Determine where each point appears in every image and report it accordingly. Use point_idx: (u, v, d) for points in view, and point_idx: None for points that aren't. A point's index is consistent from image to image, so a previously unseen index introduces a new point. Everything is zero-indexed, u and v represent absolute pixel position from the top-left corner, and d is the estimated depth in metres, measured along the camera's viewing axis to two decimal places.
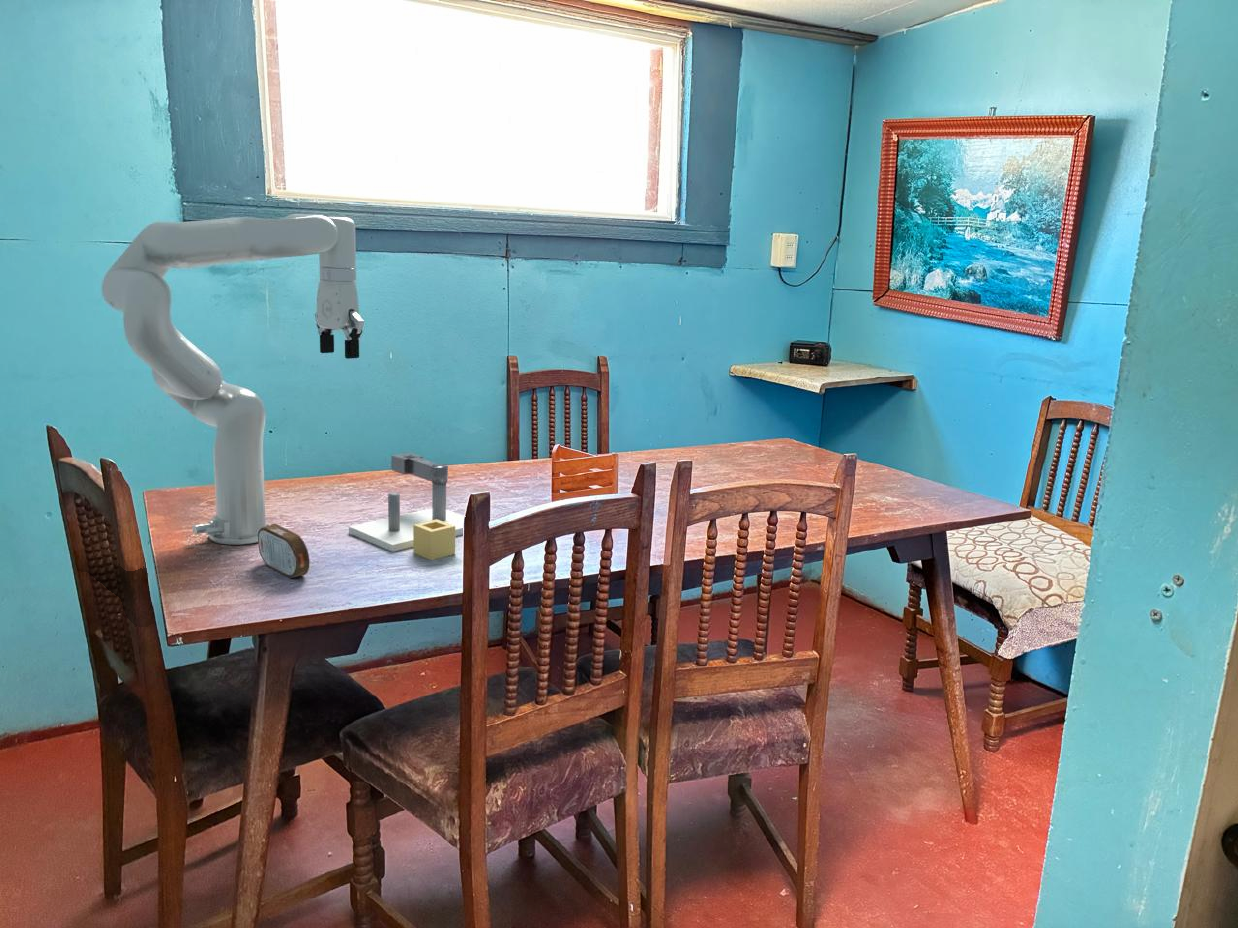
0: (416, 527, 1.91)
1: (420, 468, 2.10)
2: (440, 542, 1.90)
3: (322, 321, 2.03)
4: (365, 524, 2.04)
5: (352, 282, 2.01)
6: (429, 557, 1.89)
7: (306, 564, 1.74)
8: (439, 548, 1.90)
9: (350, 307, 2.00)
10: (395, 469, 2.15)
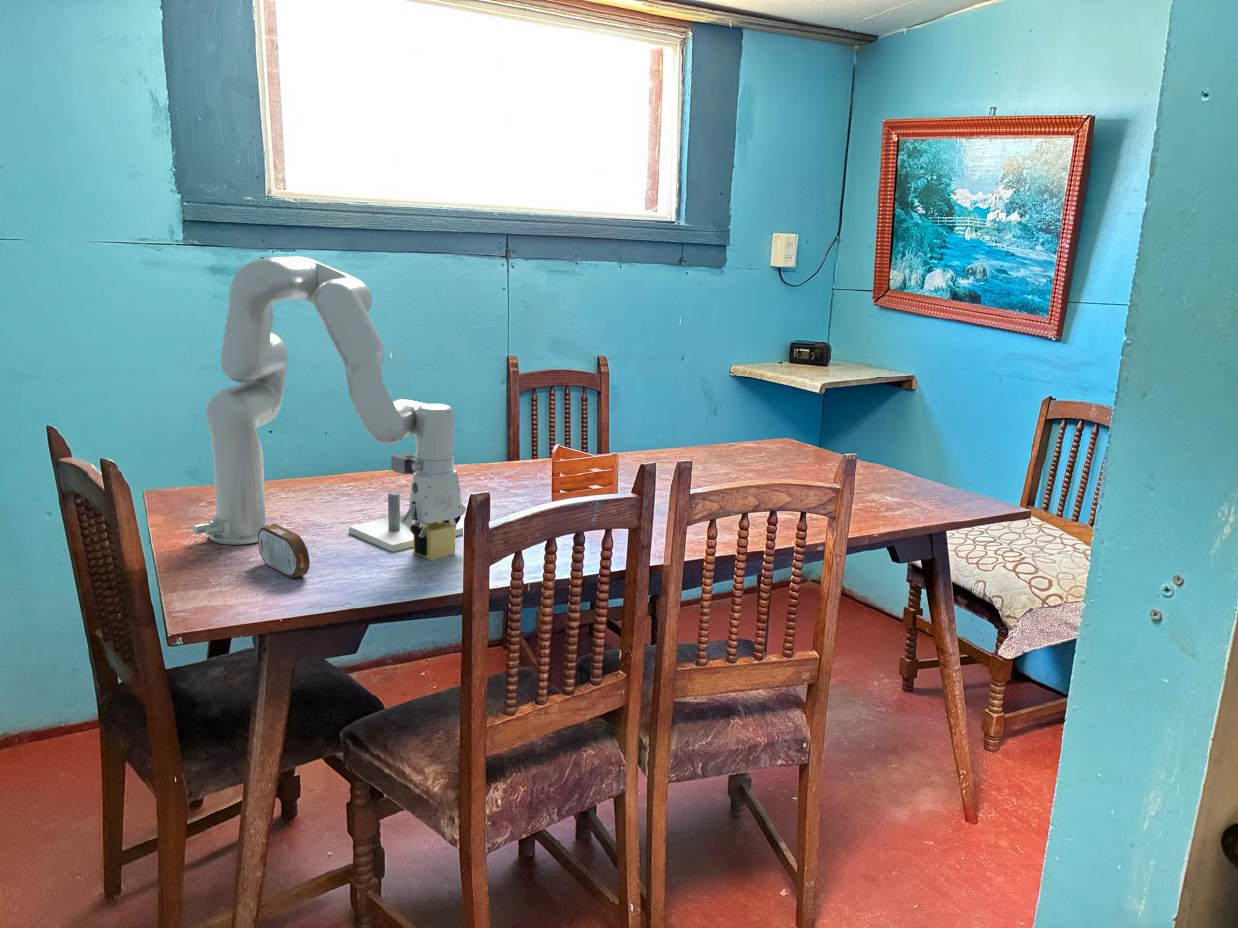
0: None
1: None
2: (440, 542, 1.90)
3: (435, 517, 1.88)
4: (365, 524, 2.04)
5: None
6: (429, 557, 1.89)
7: (306, 564, 1.74)
8: (439, 548, 1.90)
9: None
10: (395, 469, 2.15)
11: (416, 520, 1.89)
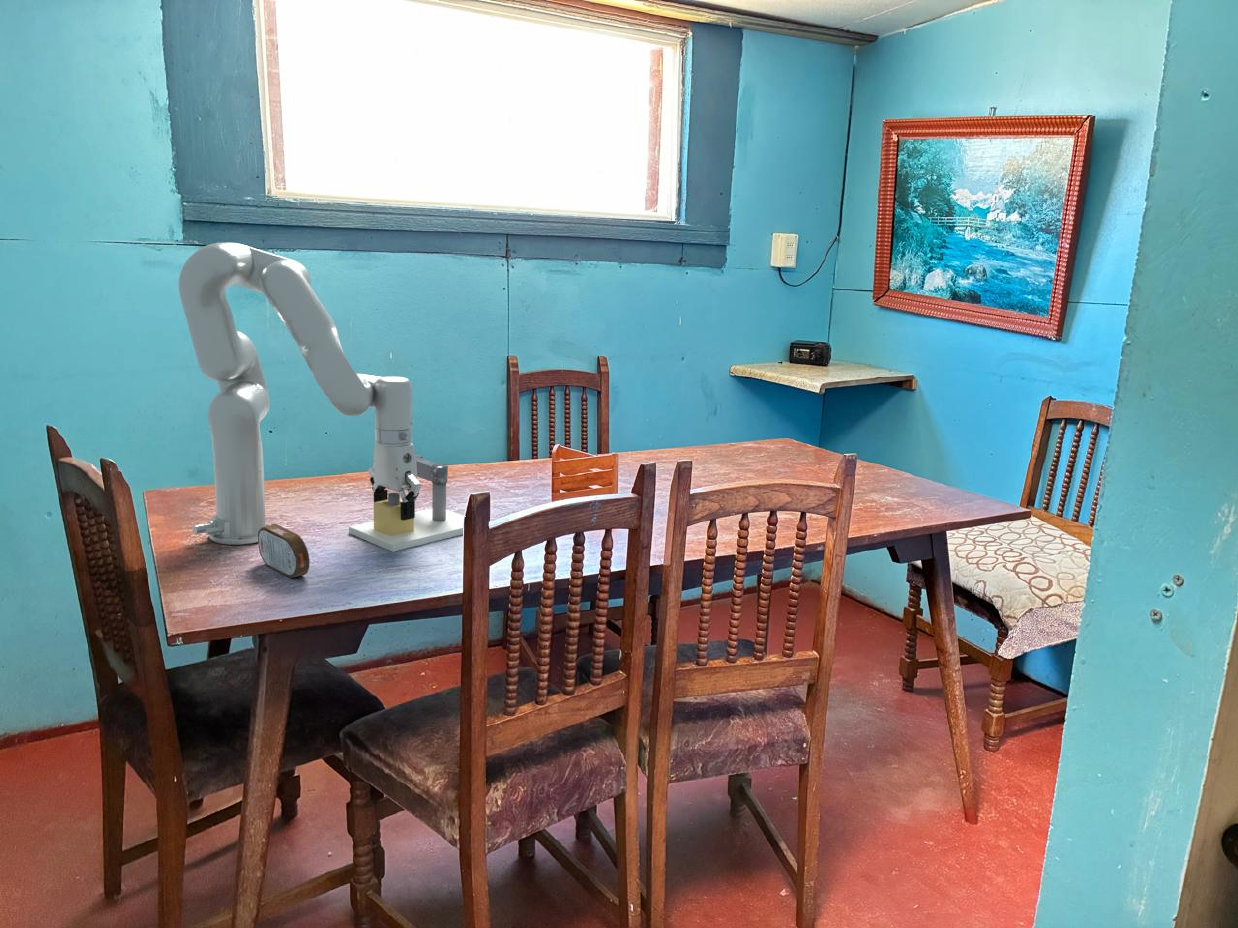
0: (394, 509, 1.97)
1: (420, 468, 2.10)
2: None
3: None
4: (365, 524, 2.04)
5: None
6: (411, 529, 2.01)
7: (306, 564, 1.74)
8: None
9: None
10: None
11: (402, 488, 1.96)
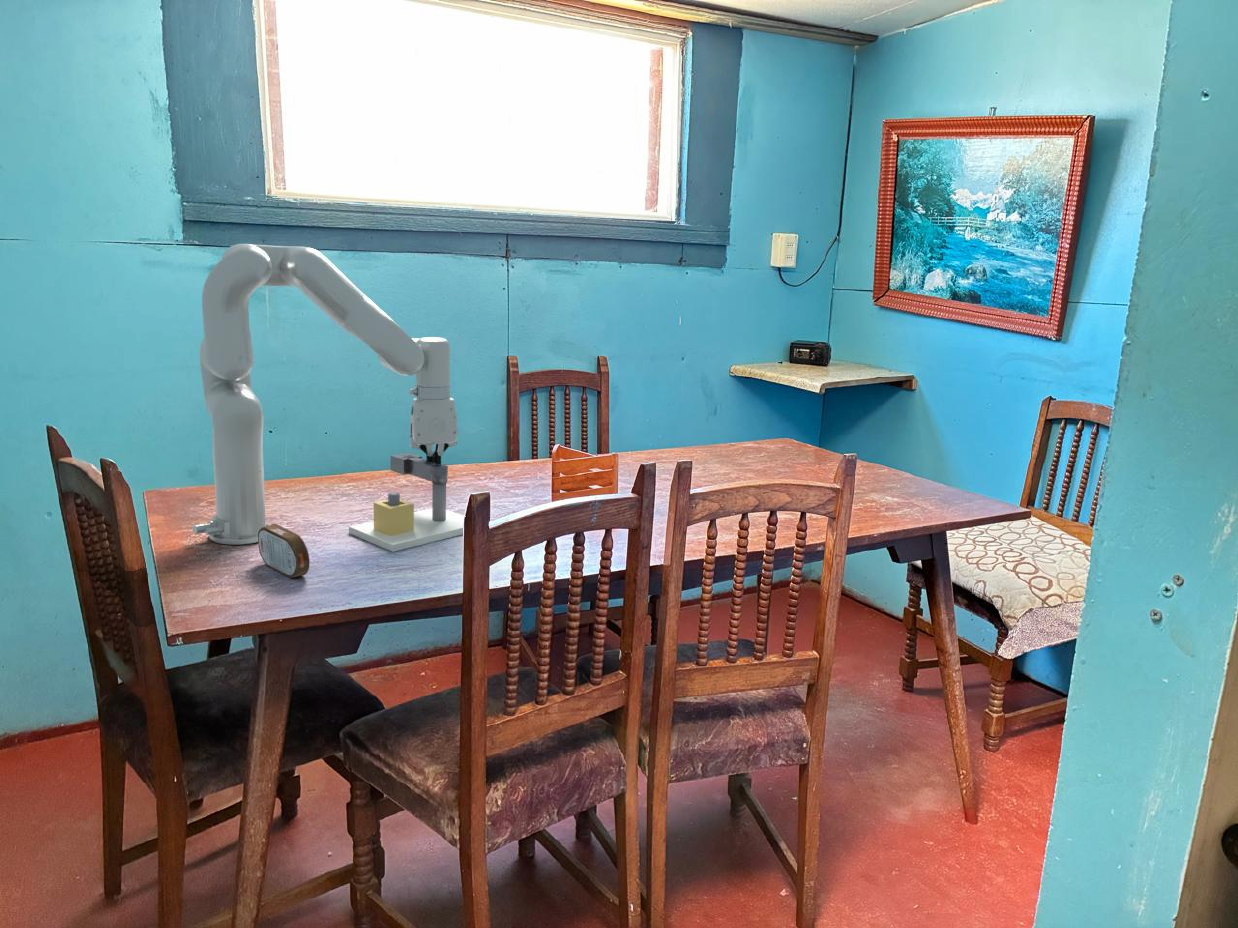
0: (394, 509, 1.97)
1: (420, 468, 2.10)
2: None
3: (428, 438, 2.10)
4: (365, 524, 2.04)
5: None
6: (411, 529, 2.01)
7: (306, 564, 1.74)
8: None
9: None
10: (394, 469, 2.14)
11: None
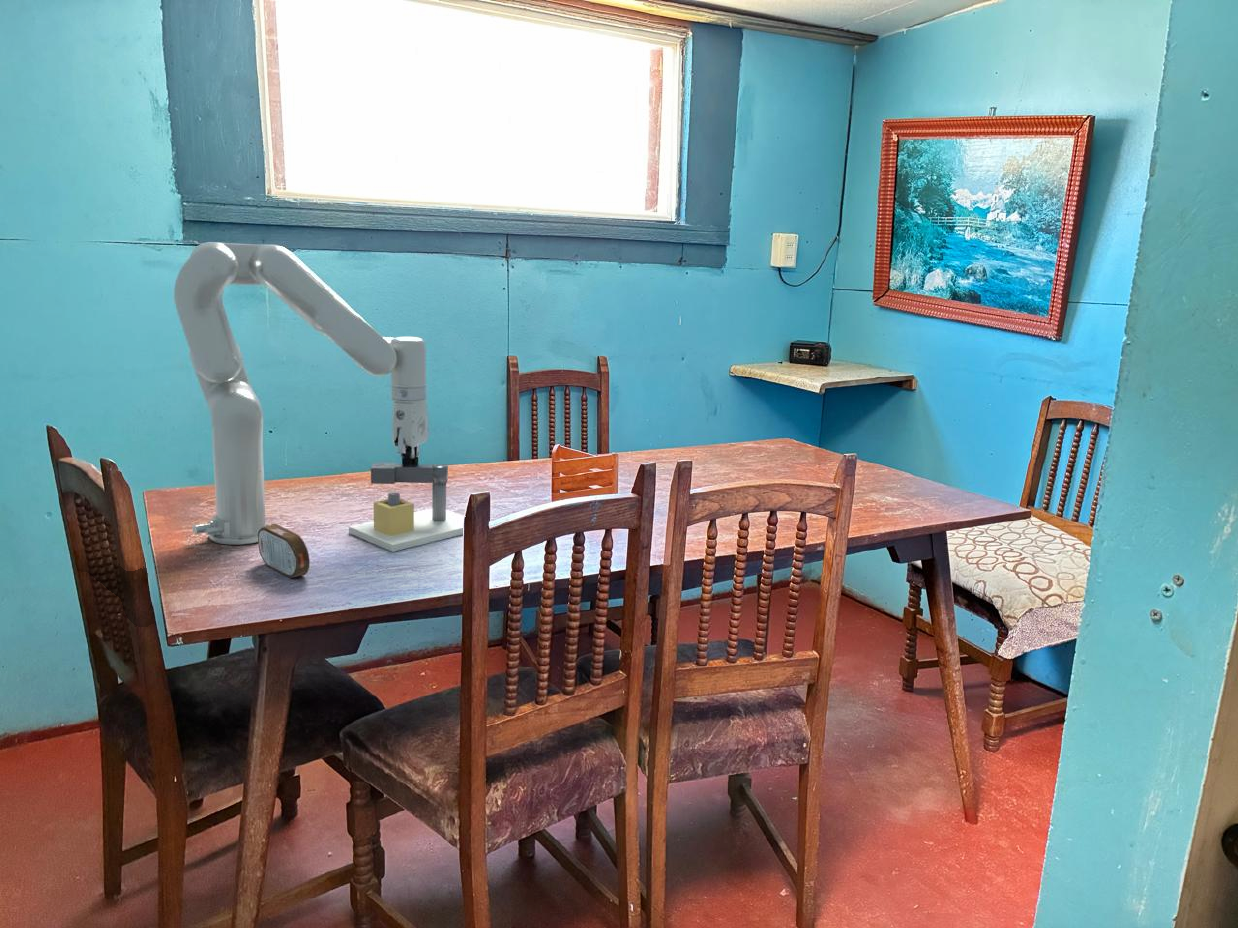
0: (394, 509, 1.97)
1: (415, 472, 2.06)
2: None
3: (418, 440, 2.06)
4: (365, 524, 2.04)
5: None
6: (411, 529, 2.01)
7: (306, 564, 1.74)
8: None
9: None
10: (378, 481, 2.04)
11: None
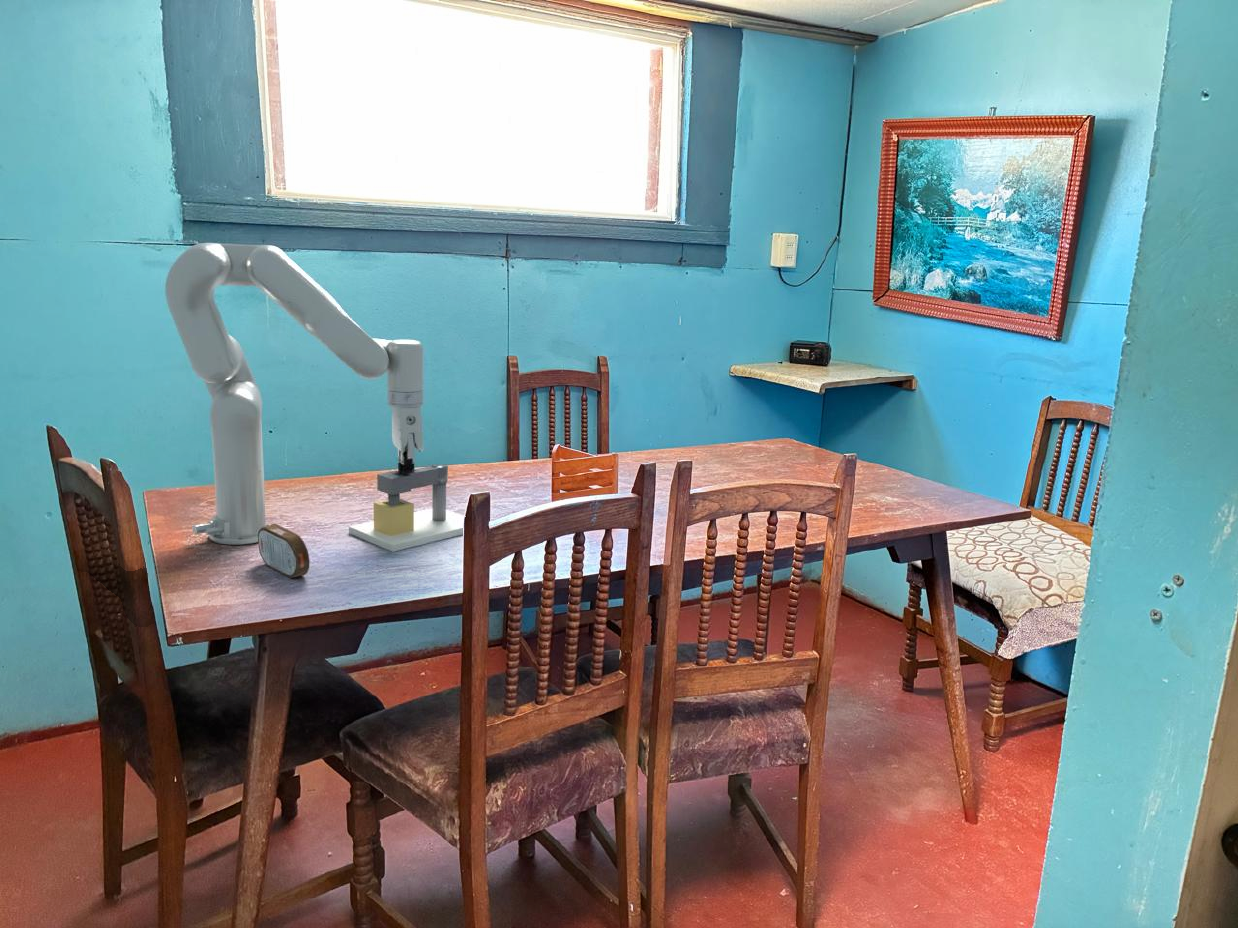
0: (394, 509, 1.97)
1: (424, 476, 2.03)
2: None
3: None
4: (365, 524, 2.04)
5: None
6: (411, 529, 2.01)
7: (306, 564, 1.74)
8: None
9: None
10: (397, 491, 1.97)
11: (403, 452, 2.02)
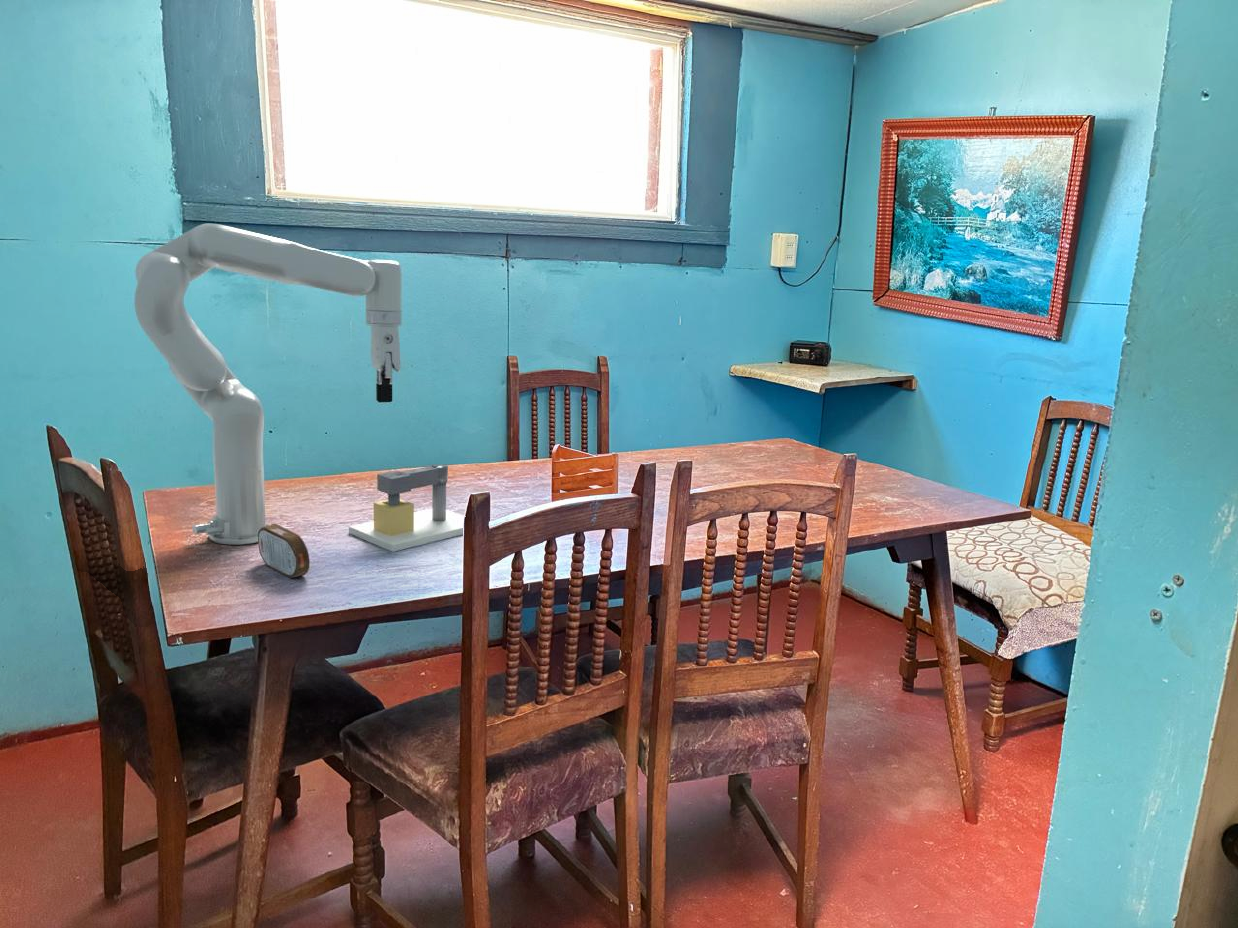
0: (394, 509, 1.97)
1: (424, 476, 2.03)
2: None
3: None
4: (365, 524, 2.04)
5: None
6: (411, 529, 2.01)
7: (306, 564, 1.74)
8: None
9: None
10: (397, 491, 1.97)
11: (381, 372, 2.04)
